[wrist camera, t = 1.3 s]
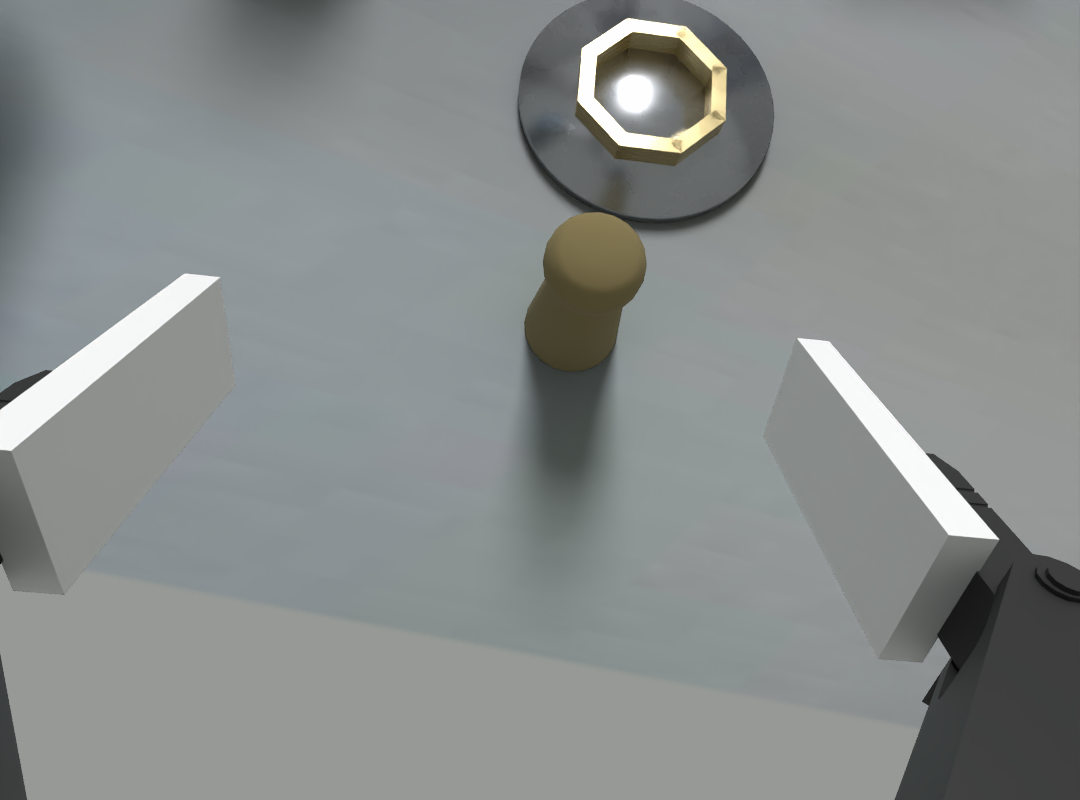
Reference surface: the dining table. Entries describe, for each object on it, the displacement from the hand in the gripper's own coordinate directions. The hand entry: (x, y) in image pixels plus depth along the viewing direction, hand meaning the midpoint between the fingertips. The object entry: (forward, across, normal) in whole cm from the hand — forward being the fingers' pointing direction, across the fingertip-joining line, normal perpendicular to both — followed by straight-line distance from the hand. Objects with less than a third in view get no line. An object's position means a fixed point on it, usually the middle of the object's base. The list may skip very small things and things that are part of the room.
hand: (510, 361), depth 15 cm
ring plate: (+37, +8, +2) cm, 38 cm away
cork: (+25, +4, -10) cm, 27 cm away
